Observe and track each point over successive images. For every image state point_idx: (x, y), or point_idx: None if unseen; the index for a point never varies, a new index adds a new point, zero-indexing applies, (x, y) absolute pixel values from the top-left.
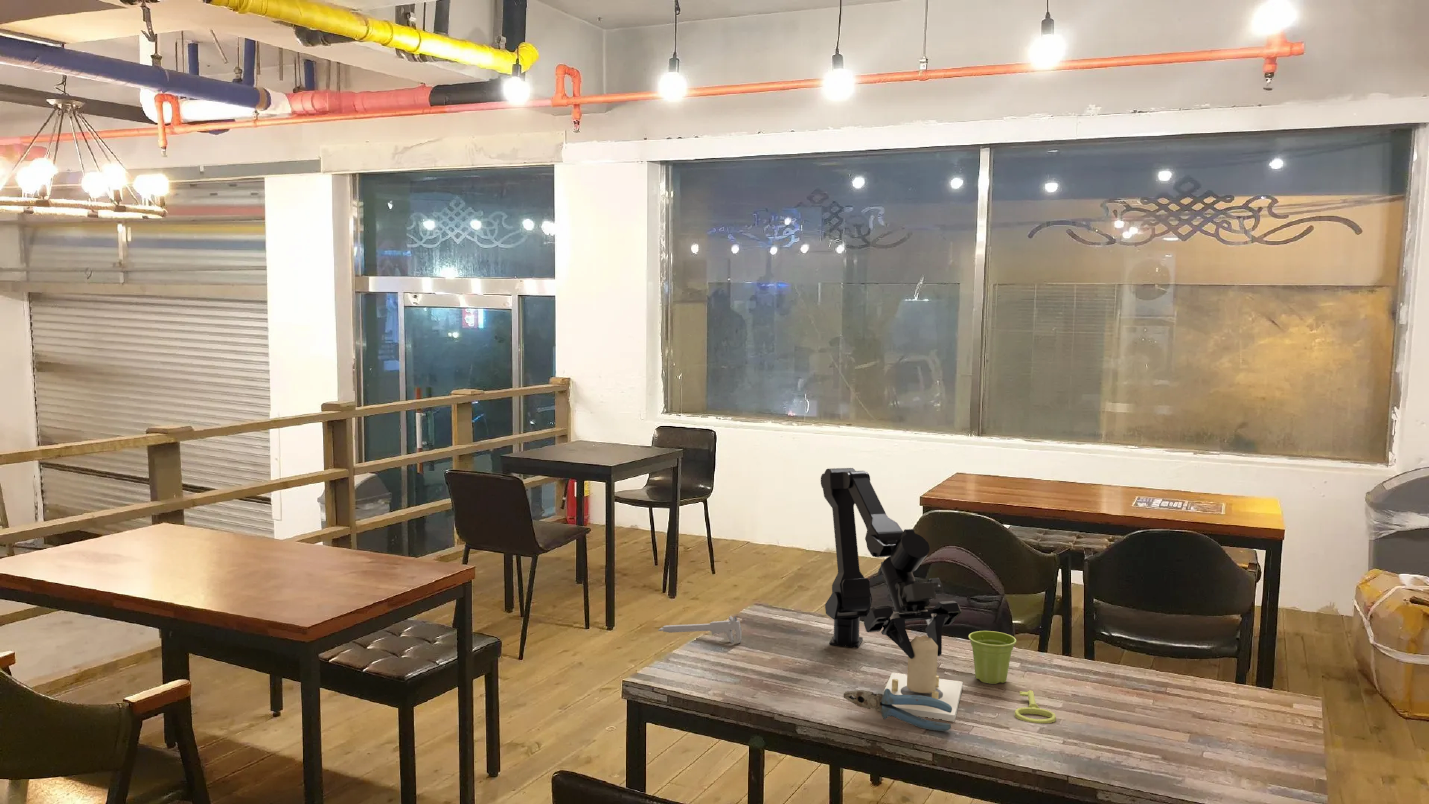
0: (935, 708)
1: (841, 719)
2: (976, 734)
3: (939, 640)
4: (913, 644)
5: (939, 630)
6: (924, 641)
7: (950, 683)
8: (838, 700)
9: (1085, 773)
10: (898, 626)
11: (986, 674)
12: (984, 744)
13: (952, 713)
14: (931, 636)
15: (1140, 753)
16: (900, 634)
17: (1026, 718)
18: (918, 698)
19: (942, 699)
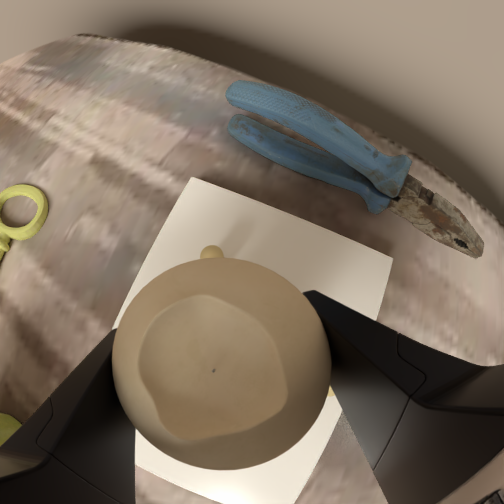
0: (229, 222)
1: None
2: (175, 127)
3: (80, 375)
4: (313, 330)
5: (35, 431)
6: (202, 379)
7: None
8: (460, 335)
9: (99, 48)
10: (501, 371)
11: (11, 430)
12: (182, 93)
13: (192, 187)
14: (115, 476)
15: (3, 106)
16: (442, 357)
17: (38, 193)
18: (316, 105)
19: None
